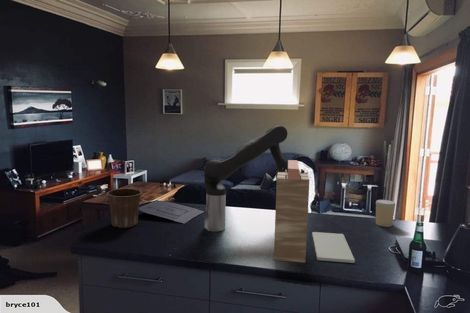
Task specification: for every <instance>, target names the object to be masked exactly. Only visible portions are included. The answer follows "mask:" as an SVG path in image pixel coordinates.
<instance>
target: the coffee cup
mask: <svg viewBox="0 0 470 313" xmlns="http://www.w3.org/2000/svg"><path fill="white" fill-rule="evenodd" d="M395 208H396V203H395V201H393V200H389V199H377V200H376V201H375V225H378V226H380V227H387V228H388V227H389V228H390V227H393V226H392V225H393V222H394V214H395V210H396V209H395Z"/></svg>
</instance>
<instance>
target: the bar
mask: <svg viewBox="0 0 470 313" xmlns="http://www.w3.org/2000/svg"><path fill="white" fill-rule="evenodd" d="M287 161H288V179H292V180H299V170H300V167H299V166H300V165H299V162H298V159H297V160H295V159H288V160H287Z"/></svg>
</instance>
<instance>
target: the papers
mask: <svg viewBox="0 0 470 313" xmlns="http://www.w3.org/2000/svg"><path fill="white" fill-rule="evenodd" d="M139 211H140V212H143V213H145V214H148V215H153V216H156V217H160V218H164V219H168V220H171V221H174V222H177V223H181V224H184V225H185V224H186V223H188V222H189V221H191V220H192V219H194V218H195V217H198V215H201V214H203V213H205V210H200V209H199V208H194V207H191V206H187V205H184V204H183V205H182V204H179V203H175V202H171V201H165V200H154V201H152V202H149V203H148V204H145V205H141V206H139Z"/></svg>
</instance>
